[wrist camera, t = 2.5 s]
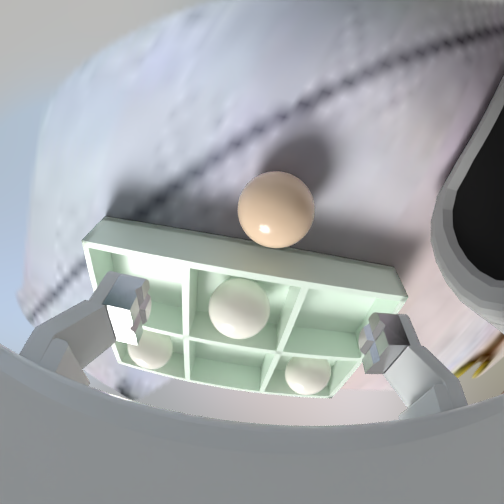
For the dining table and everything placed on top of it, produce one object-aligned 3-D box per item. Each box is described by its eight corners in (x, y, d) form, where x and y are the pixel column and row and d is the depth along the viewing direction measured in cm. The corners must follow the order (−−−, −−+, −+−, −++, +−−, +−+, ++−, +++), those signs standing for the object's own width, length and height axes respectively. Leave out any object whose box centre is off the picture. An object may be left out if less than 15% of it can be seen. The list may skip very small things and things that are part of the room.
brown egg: (317, 170, 16) (330, 198, 13) (301, 230, 19) (306, 269, 15) (247, 156, 16) (239, 179, 13) (237, 218, 19) (228, 256, 15)
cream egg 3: (335, 343, 25) (340, 382, 21) (319, 367, 27) (322, 403, 24) (291, 338, 25) (292, 379, 21) (280, 363, 27) (279, 400, 23)
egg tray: (393, 266, 20) (408, 296, 17) (328, 372, 29) (331, 398, 26) (104, 216, 19) (81, 240, 16) (128, 338, 28) (118, 362, 25)
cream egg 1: (177, 319, 24) (164, 358, 21) (178, 346, 27) (168, 382, 23) (133, 309, 24) (116, 345, 20) (139, 337, 27) (125, 370, 23)
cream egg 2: (276, 271, 20) (276, 315, 17) (264, 311, 23) (262, 355, 19) (216, 260, 20) (204, 303, 16) (212, 302, 23) (202, 345, 19)
